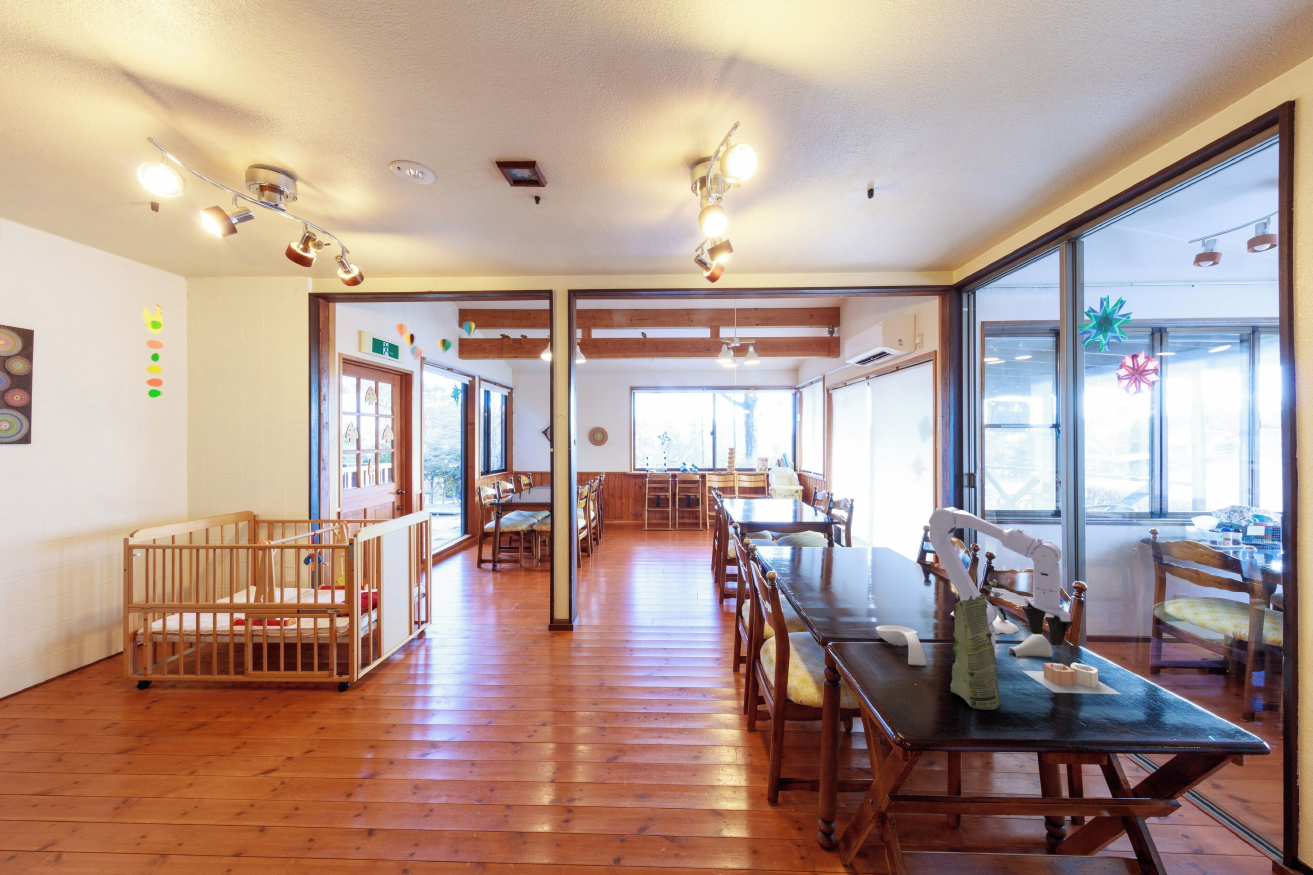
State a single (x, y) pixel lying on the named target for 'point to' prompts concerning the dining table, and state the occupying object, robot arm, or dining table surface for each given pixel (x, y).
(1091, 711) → the dining table surface
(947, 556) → the robot arm
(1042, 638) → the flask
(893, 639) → the spoon rest
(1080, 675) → the gear
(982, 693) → the pouch
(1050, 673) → the gear
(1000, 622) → the figurine
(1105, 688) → the gear board
